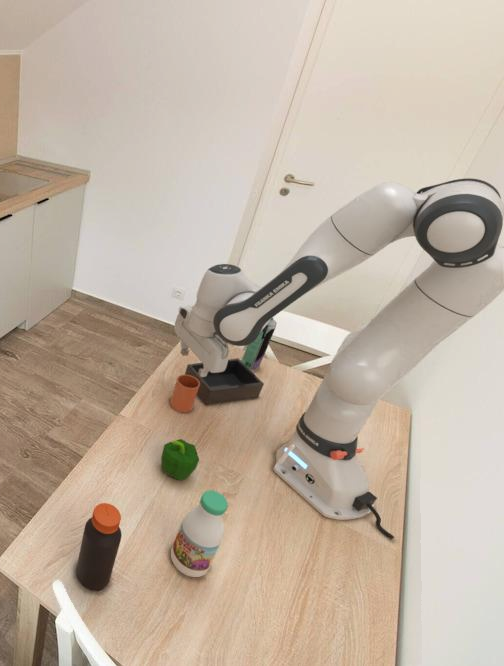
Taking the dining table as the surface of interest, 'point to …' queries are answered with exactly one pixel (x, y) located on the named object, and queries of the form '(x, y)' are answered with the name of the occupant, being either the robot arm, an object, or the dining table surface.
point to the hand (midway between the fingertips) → (192, 364)
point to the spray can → (258, 347)
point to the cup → (184, 393)
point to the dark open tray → (226, 383)
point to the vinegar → (99, 547)
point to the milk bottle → (200, 535)
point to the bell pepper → (179, 459)
